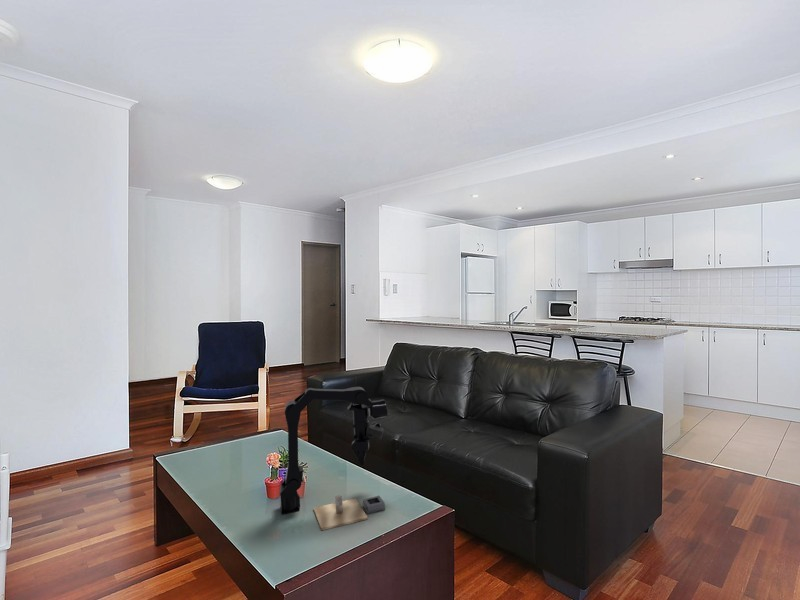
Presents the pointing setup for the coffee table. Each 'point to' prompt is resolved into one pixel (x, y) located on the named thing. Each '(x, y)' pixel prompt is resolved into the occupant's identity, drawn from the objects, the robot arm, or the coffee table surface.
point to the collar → (373, 504)
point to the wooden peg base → (339, 513)
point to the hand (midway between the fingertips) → (363, 460)
